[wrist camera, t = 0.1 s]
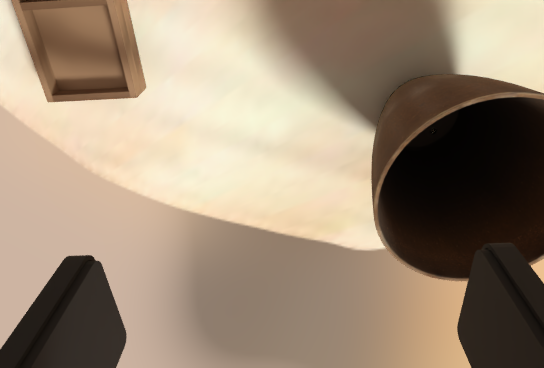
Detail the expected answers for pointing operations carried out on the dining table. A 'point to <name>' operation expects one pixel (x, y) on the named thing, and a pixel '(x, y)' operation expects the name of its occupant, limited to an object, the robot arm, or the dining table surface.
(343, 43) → the dining table surface
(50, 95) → the cups on wooden tray
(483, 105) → the plant pot
